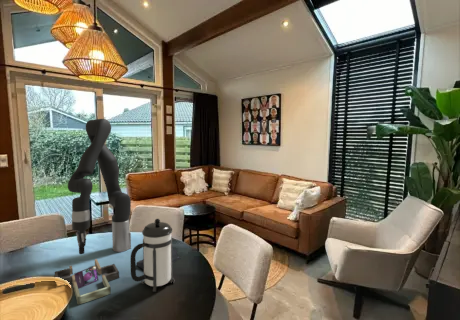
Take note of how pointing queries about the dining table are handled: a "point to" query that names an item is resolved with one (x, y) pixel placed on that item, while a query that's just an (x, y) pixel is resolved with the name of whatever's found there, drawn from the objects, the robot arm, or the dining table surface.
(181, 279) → the dining table surface
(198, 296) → the dining table surface
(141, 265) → the dark slate chunk
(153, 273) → the coffee press
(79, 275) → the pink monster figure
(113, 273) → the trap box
